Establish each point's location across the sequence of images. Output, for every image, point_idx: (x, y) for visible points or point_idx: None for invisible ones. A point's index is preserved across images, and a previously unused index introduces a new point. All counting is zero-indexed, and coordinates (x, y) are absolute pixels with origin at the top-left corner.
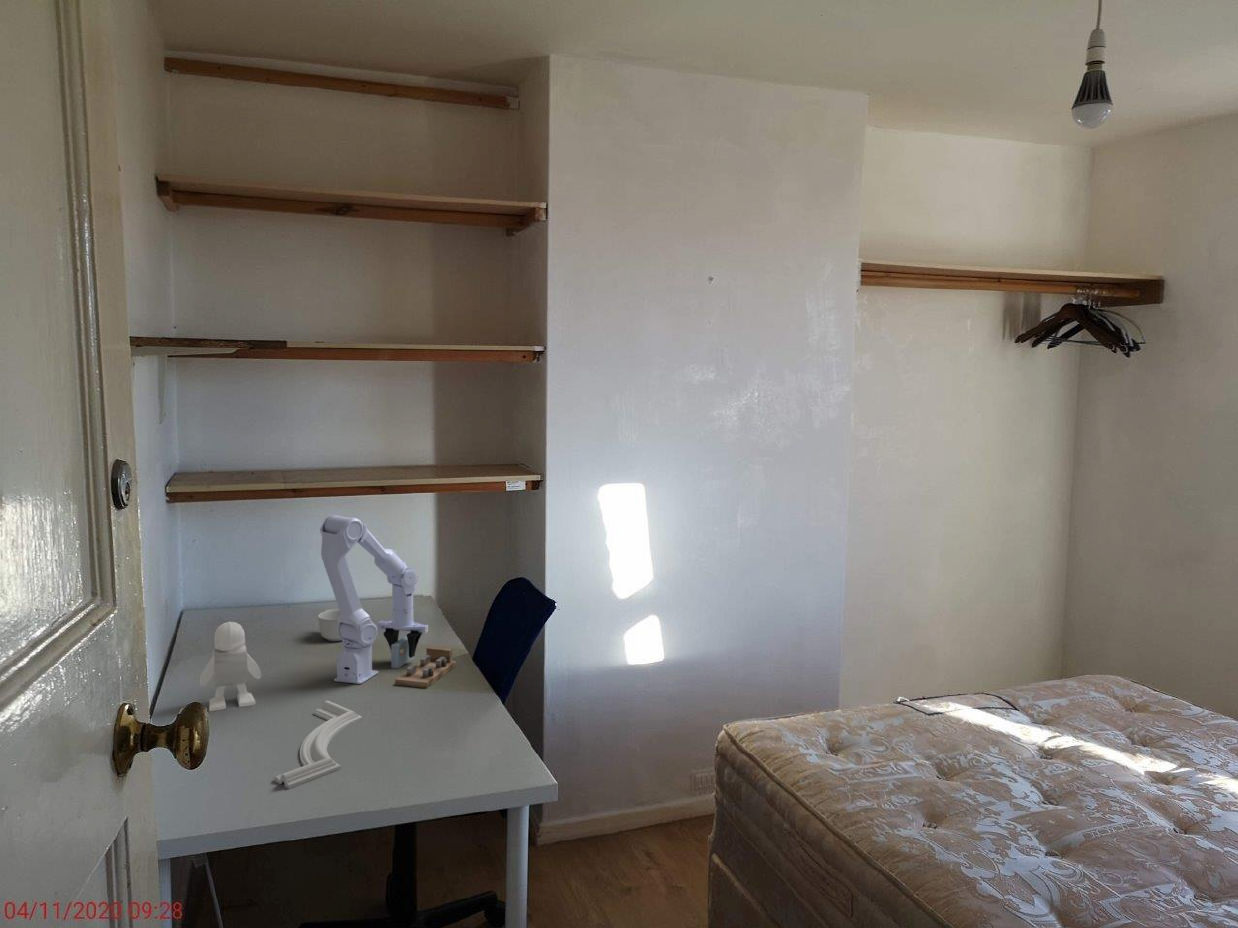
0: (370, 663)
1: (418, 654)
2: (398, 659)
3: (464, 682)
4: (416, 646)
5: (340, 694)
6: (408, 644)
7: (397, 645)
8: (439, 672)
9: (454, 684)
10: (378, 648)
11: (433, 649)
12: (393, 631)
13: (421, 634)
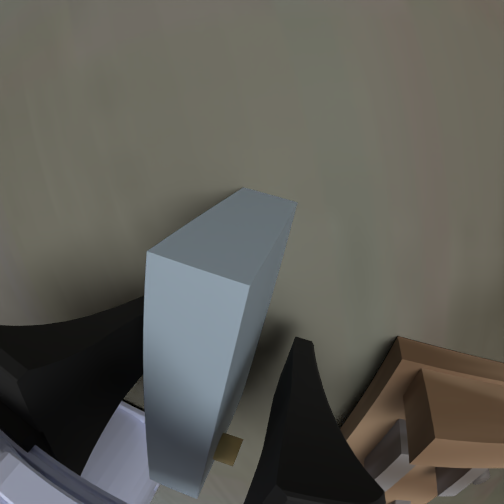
0: (151, 488)
1: (311, 127)
2: (228, 425)
3: (496, 484)
4: (322, 388)
5: (163, 500)
6: (256, 471)
7: (192, 494)
8: (436, 493)
9: (464, 497)
10: (41, 59)
11: (454, 464)
12: (59, 461)
13: (372, 487)
